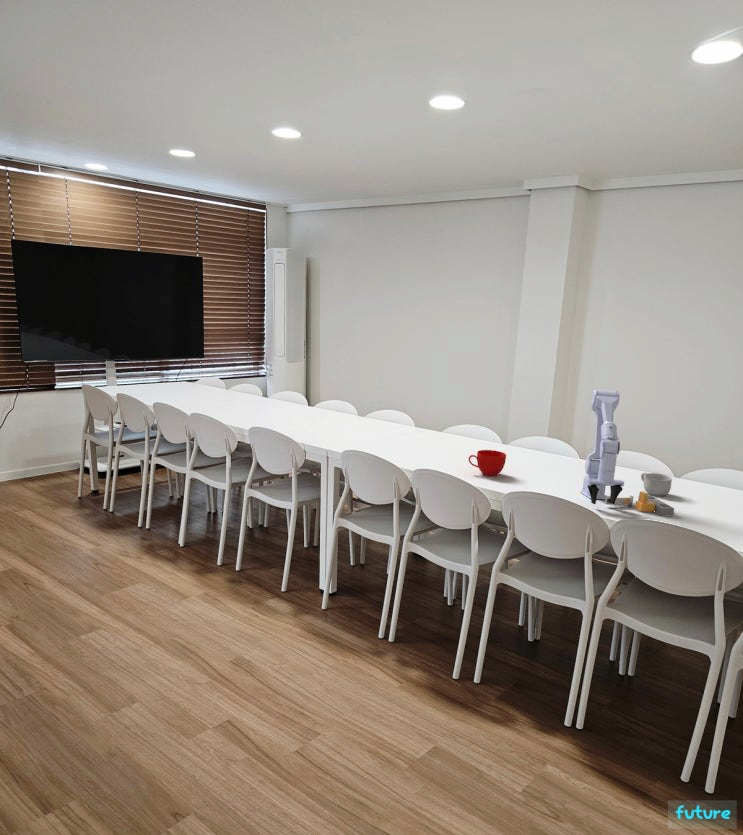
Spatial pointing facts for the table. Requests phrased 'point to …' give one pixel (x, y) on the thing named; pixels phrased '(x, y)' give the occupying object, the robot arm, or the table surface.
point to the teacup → (656, 483)
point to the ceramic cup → (489, 462)
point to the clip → (621, 501)
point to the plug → (644, 503)
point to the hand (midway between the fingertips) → (602, 503)
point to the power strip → (661, 506)
